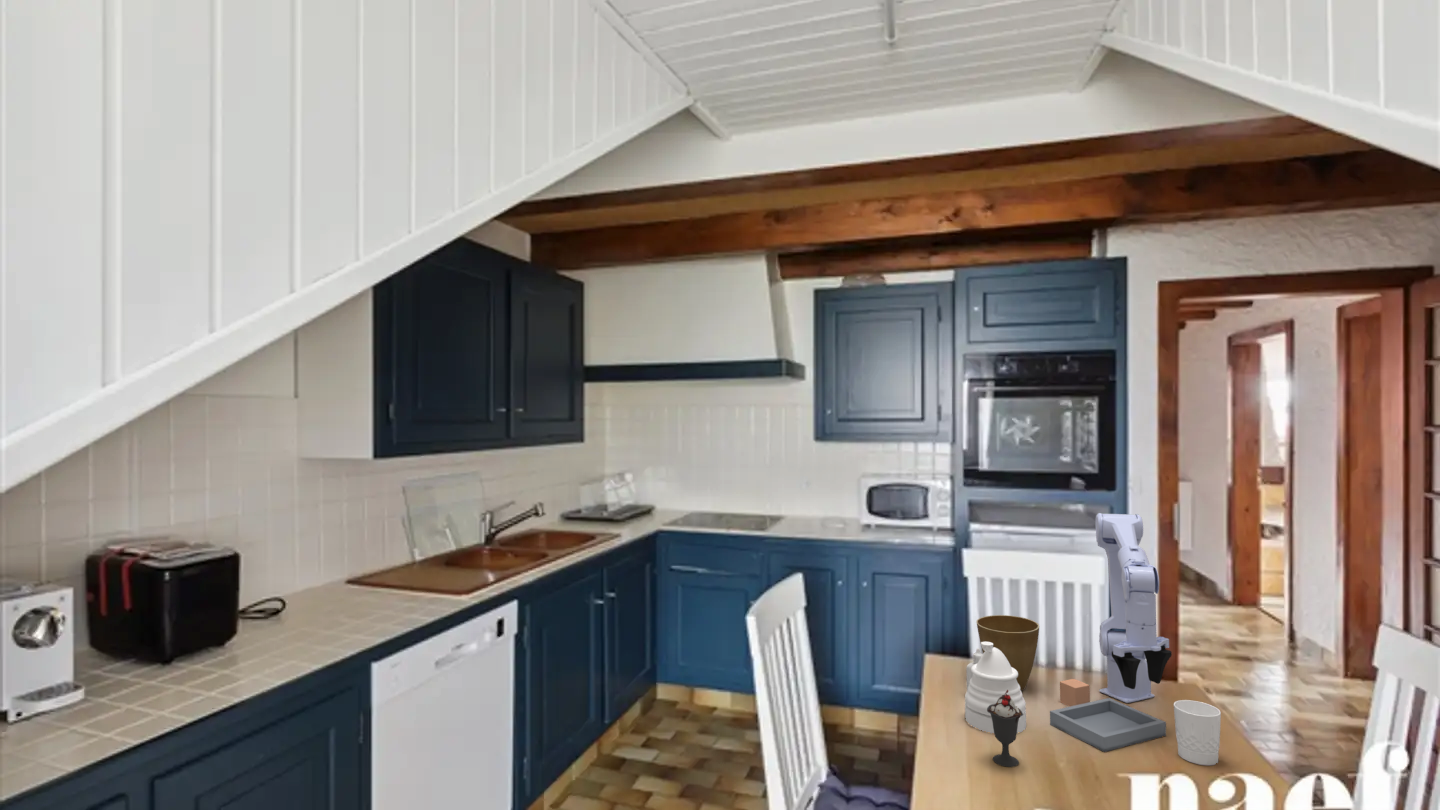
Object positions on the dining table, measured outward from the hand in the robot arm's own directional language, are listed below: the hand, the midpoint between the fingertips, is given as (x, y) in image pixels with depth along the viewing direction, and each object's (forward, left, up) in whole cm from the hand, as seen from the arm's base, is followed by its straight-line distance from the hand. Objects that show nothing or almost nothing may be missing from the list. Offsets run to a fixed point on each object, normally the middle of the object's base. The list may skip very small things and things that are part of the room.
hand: (1142, 684), depth 155 cm
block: (+1, -17, -10) cm, 20 cm away
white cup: (0, +12, -11) cm, 16 cm away
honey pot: (+25, -17, -11) cm, 32 cm away
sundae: (+36, -2, -11) cm, 38 cm away
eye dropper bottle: (+19, -29, -11) cm, 36 cm away
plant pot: (+7, -32, -11) cm, 34 cm away
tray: (+6, -4, -10) cm, 13 cm away
